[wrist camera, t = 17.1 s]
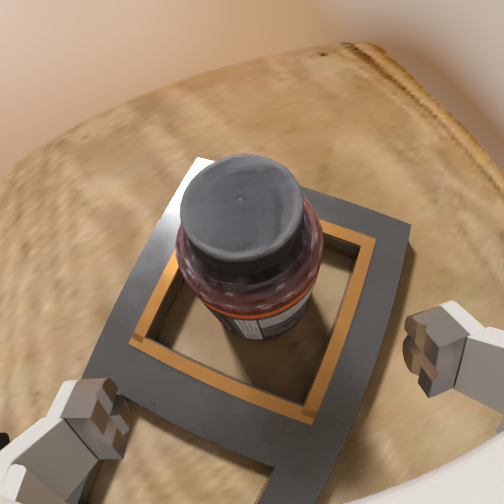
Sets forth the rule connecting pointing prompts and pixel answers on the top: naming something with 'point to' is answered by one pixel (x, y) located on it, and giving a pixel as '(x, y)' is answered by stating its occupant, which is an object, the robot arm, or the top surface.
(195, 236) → the supplement bottle
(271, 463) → the grey rectangular frame
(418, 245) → the top surface
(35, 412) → the top surface
